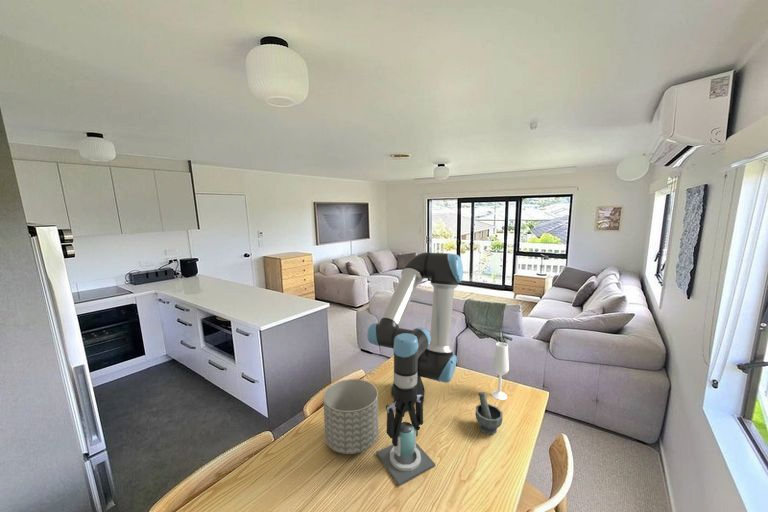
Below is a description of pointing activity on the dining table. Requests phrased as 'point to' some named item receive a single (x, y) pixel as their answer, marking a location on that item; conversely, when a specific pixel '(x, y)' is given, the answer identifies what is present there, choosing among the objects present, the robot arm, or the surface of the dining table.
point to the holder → (405, 464)
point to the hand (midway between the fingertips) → (405, 449)
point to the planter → (351, 416)
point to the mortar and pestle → (488, 415)
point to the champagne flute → (500, 367)
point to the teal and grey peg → (407, 439)
